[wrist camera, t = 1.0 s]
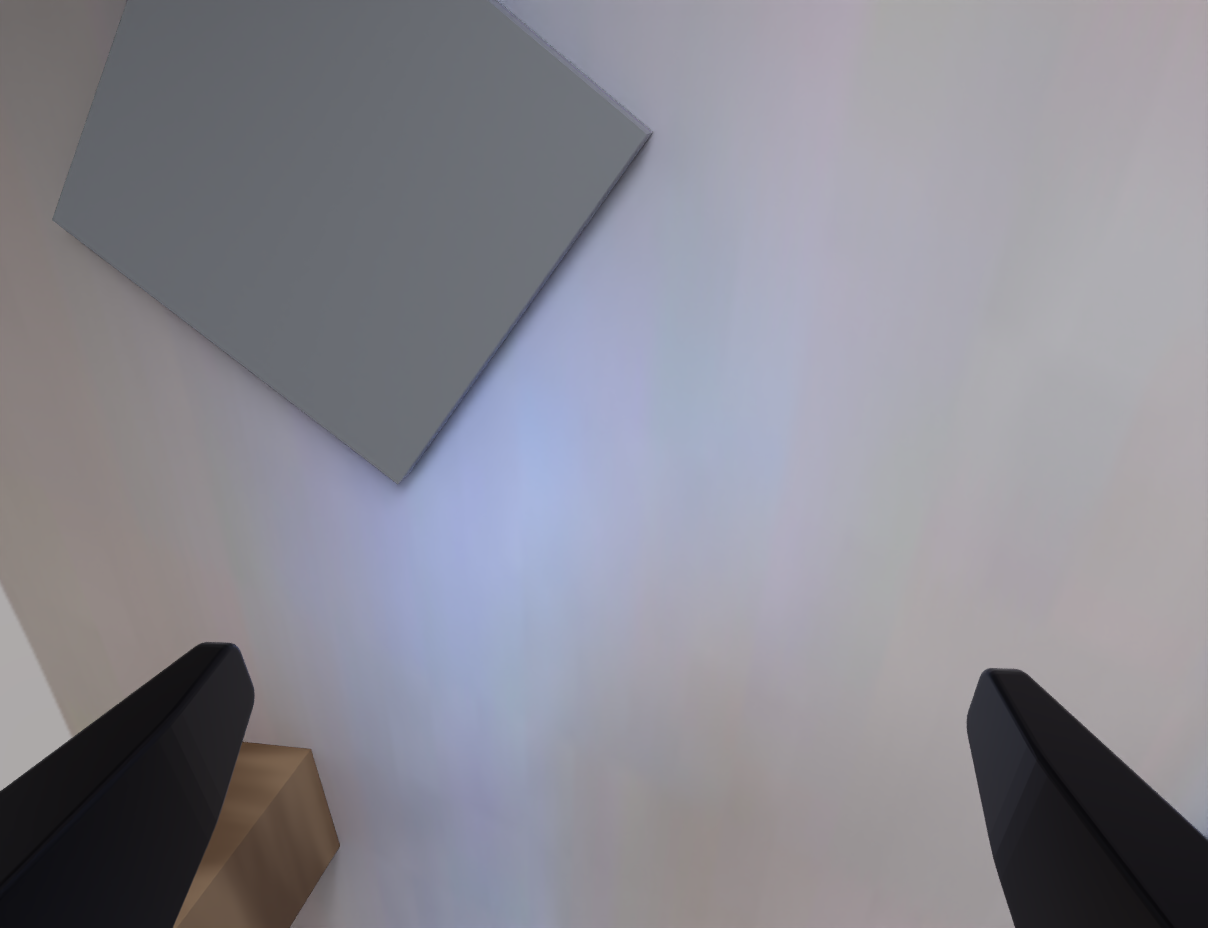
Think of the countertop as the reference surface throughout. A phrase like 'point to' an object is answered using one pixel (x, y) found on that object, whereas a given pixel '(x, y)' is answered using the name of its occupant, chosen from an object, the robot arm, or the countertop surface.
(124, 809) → the robot arm
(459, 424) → the countertop surface
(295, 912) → the walnut block
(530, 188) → the plate
